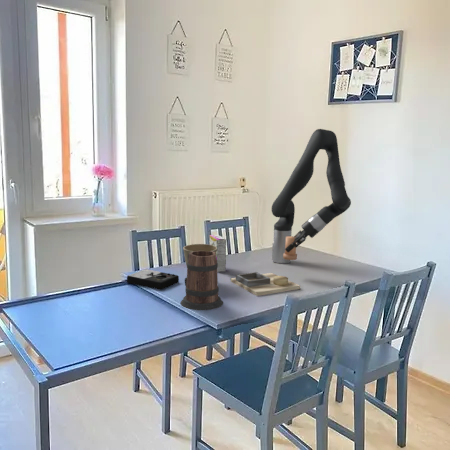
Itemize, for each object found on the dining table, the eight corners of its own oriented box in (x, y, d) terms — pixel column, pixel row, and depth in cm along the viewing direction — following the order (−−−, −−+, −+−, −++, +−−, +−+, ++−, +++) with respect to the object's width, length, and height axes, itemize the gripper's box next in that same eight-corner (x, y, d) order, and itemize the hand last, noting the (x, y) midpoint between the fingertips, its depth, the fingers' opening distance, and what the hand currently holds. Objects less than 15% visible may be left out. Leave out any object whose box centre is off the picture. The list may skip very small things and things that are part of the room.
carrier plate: (230, 281, 211) (230, 273, 210) (271, 275, 221) (271, 267, 220) (256, 296, 192) (257, 286, 191) (299, 288, 202) (300, 279, 201)
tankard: (231, 306, 179) (232, 255, 175) (190, 313, 171) (190, 260, 168) (205, 289, 199) (205, 243, 196) (168, 294, 192) (167, 246, 188)
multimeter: (161, 291, 197) (160, 279, 196) (126, 283, 206) (126, 272, 206) (179, 283, 208) (179, 272, 207) (145, 276, 218) (145, 266, 217)
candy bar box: (208, 266, 235) (208, 234, 232) (217, 265, 237) (218, 234, 234) (216, 272, 225) (216, 239, 222) (226, 271, 226) (226, 238, 223)
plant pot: (179, 279, 213) (179, 245, 210) (210, 276, 218) (210, 243, 215) (188, 288, 199) (188, 252, 196) (221, 285, 204) (221, 250, 202)
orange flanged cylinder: (280, 257, 220) (281, 236, 218) (291, 255, 223) (292, 235, 221) (288, 260, 214) (289, 239, 212) (299, 259, 217) (300, 238, 215)
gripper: (307, 216, 221) (280, 240, 225) (309, 222, 207) (281, 247, 211) (318, 228, 222) (291, 251, 225) (321, 234, 208) (292, 259, 211)
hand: (286, 249), depth 218 cm, fingers closed on orange flanged cylinder, 5 cm apart
